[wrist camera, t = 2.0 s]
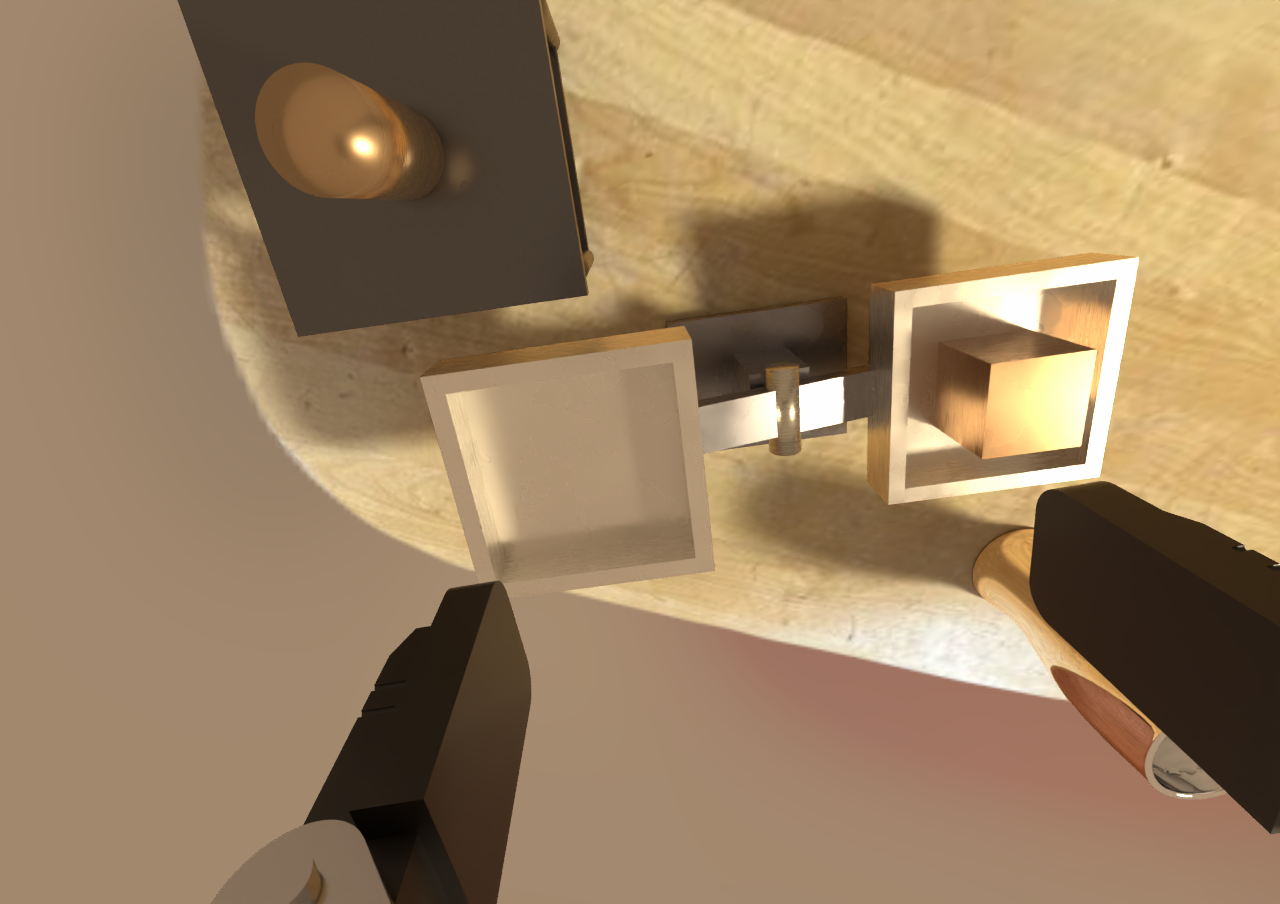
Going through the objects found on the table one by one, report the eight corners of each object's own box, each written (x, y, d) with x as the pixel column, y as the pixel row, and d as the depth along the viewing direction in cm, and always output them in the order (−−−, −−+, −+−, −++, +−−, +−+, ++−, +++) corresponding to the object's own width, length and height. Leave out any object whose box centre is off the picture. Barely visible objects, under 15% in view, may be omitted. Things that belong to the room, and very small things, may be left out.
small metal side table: (328, 59, 28) (-24, -120, 13) (559, 24, 28) (485, -202, 13) (396, 297, 33) (194, 378, 17) (597, 268, 32) (577, 324, 17)
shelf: (482, 324, 33) (419, 377, 23) (1027, 246, 33) (1219, 264, 22) (521, 491, 37) (483, 601, 27) (1007, 425, 37) (1161, 511, 26)
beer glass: (945, 588, 41) (1109, 780, 27) (1006, 507, 39) (1220, 672, 25) (1024, 620, 43) (1219, 818, 29) (1088, 543, 40) (1334, 718, 26)
